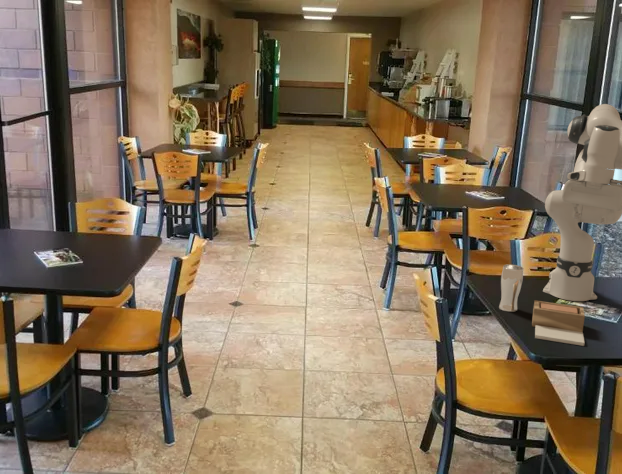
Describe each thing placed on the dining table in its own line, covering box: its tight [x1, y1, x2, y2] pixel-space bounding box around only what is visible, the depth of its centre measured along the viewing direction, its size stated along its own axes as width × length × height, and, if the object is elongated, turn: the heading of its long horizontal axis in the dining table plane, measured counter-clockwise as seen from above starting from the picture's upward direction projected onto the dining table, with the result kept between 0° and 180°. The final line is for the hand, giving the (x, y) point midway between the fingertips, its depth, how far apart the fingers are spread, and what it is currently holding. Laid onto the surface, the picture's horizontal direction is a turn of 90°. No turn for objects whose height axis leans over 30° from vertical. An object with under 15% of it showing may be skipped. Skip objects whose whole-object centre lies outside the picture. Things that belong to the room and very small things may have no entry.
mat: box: [534, 325, 585, 347], centre depth 202 cm, size 9×14×1 cm, turn 71°
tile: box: [540, 303, 578, 314], centre depth 210 cm, size 5×11×3 cm, turn 71°
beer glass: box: [498, 264, 524, 313], centre depth 223 cm, size 7×7×15 cm
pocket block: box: [531, 299, 586, 332], centre depth 211 cm, size 9×15×6 cm, turn 71°
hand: (589, 220), depth 207 cm, fingers open, 8 cm apart
